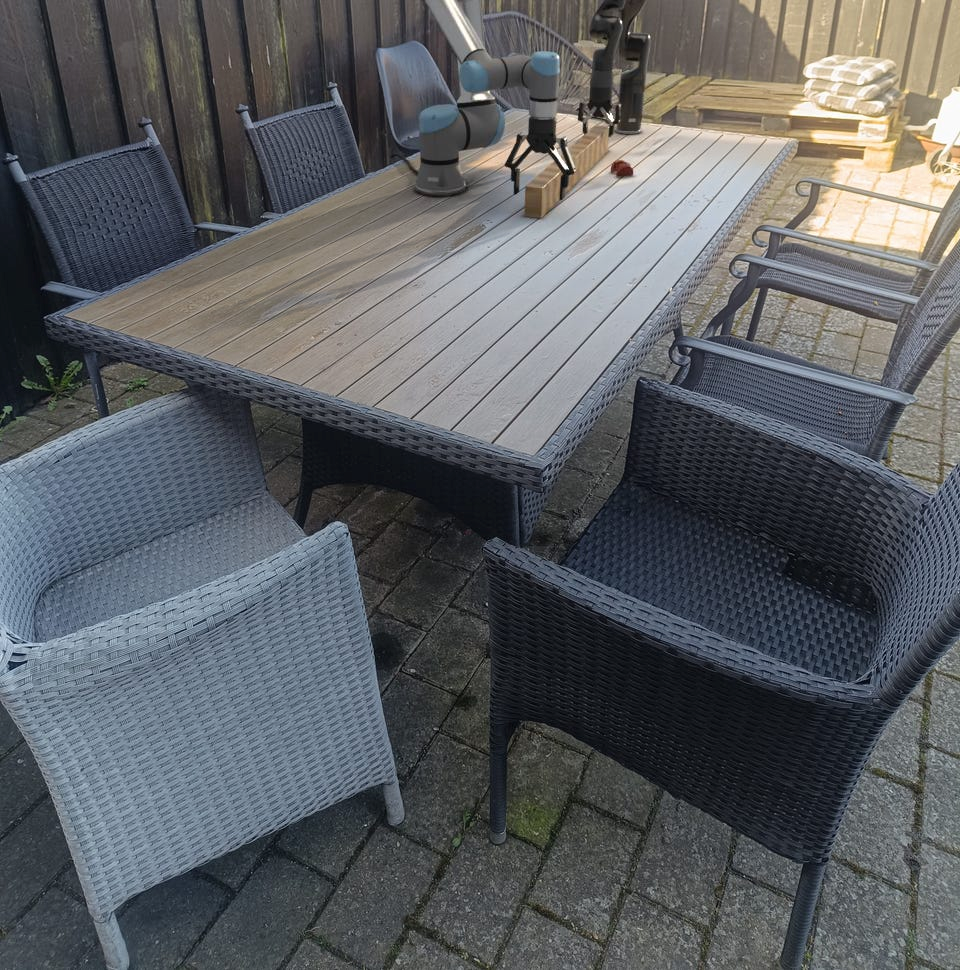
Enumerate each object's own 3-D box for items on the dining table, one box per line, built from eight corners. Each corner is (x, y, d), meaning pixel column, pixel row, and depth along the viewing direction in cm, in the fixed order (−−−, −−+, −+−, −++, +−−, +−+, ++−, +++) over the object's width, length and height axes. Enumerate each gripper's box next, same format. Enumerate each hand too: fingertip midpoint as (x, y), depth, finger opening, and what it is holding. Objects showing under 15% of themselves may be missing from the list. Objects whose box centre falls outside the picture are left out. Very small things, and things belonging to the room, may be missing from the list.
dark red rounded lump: (625, 156, 273) (635, 163, 267) (625, 169, 276) (634, 176, 269) (609, 158, 272) (618, 165, 266) (608, 171, 275) (618, 178, 268)
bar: (541, 218, 237) (542, 188, 232) (524, 216, 238) (525, 186, 233) (607, 150, 296) (610, 125, 291) (594, 149, 297) (596, 124, 293)
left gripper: (591, 117, 226) (584, 197, 239) (503, 109, 233) (502, 187, 246) (583, 124, 220) (577, 205, 233) (494, 115, 227) (493, 194, 240)
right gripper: (625, 83, 279) (620, 134, 289) (583, 80, 284) (580, 131, 293) (620, 87, 274) (615, 140, 283) (577, 84, 278) (574, 136, 287)
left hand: (538, 196), depth 239 cm, fingers open, 13 cm apart
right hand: (597, 135), depth 288 cm, fingers open, 8 cm apart
